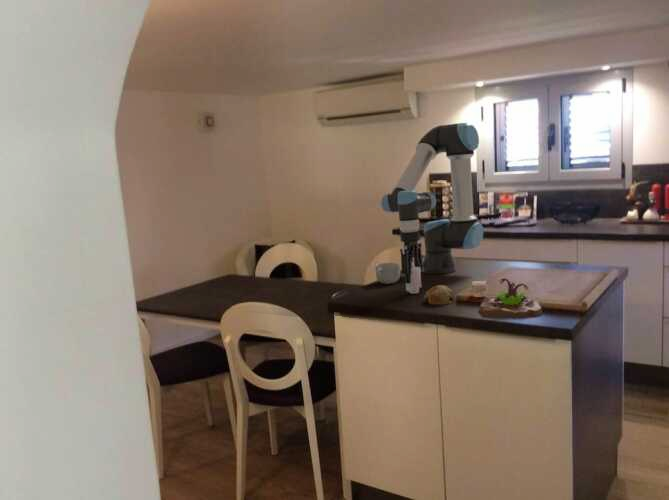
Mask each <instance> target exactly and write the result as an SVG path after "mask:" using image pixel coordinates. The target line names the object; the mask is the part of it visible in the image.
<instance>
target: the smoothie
mask: <svg viewBox="0 0 669 500" xmlns="http://www.w3.org/2000/svg"><path fill="white" fill-rule="evenodd" d="M421 271H422V270H421V268H420V267H415V266H414V257H413V262H412V268H411V275H412V277H413V291H408V292H409V294H411V295H412V294H415V295H416V294H419V292H420V287H419V282H420V274H421Z"/></svg>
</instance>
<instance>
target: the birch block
mask: <svg viewBox="0 0 669 500" xmlns="http://www.w3.org/2000/svg"><path fill="white" fill-rule="evenodd" d="M470 287H471V292H472V291H486V289H487V290H488V285H487V281H483V280H482V281H479V280H478V281H477V280H476V281H472V283H471V286H470Z"/></svg>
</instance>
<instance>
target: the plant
mask: <svg viewBox="0 0 669 500" xmlns="http://www.w3.org/2000/svg"><path fill="white" fill-rule="evenodd" d="M505 282H507V287H508V288H507V292H506V291H501V293H499V292H495V295H496V296H497V297H493V298H487V299H486V300H484V301H482V302H481V303H480V305H479V312H480V313H482V314H483V317H491V318H492V317H494V318H512V319H518V318H523V319H525V318H528V317H538V316H541V315H542V313H543V312H542V311H543V309H542V305H541V306H540V302H541V301H540V300H538V299H537V300H535V299H536V298H533V299H530V298H531V297H528V296H526V294H527V292H526V291H529V286H528V285H527V284H524V283H518V284H516V283H515V282H513V281H512V282H511V281H509V279H507V278H501V279H499V284H501V285H502V284H504V283H505ZM521 286H524V290H525V291H524V292H521V293H520V294H518V291H517V290H518V289H519V287H521Z"/></svg>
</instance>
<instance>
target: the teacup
mask: <svg viewBox="0 0 669 500" xmlns="http://www.w3.org/2000/svg"><path fill="white" fill-rule="evenodd" d="M374 267H375V278H376V280H377V281H378V282H380V283H381V284H385V285H388V284H389V285H390V284H391V283H392V284H395V283H397V281H399V280H400V279H401V278H400V277H401V264H400V263H396V262H379V263H376V264H375V265H374Z"/></svg>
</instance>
